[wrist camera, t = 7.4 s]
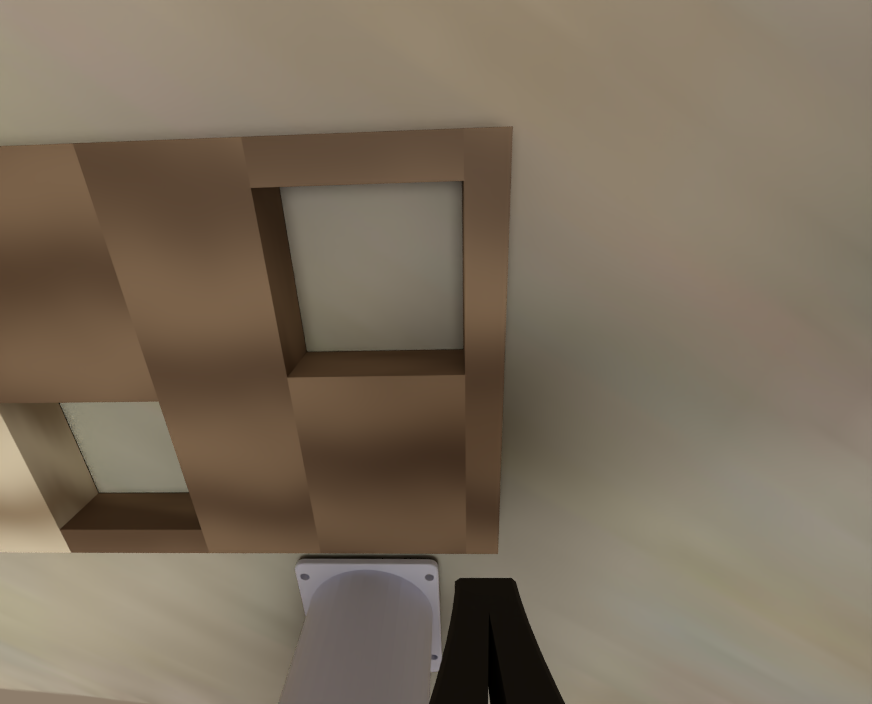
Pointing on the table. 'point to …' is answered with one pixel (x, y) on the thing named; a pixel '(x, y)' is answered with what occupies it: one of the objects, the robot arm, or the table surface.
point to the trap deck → (241, 351)
